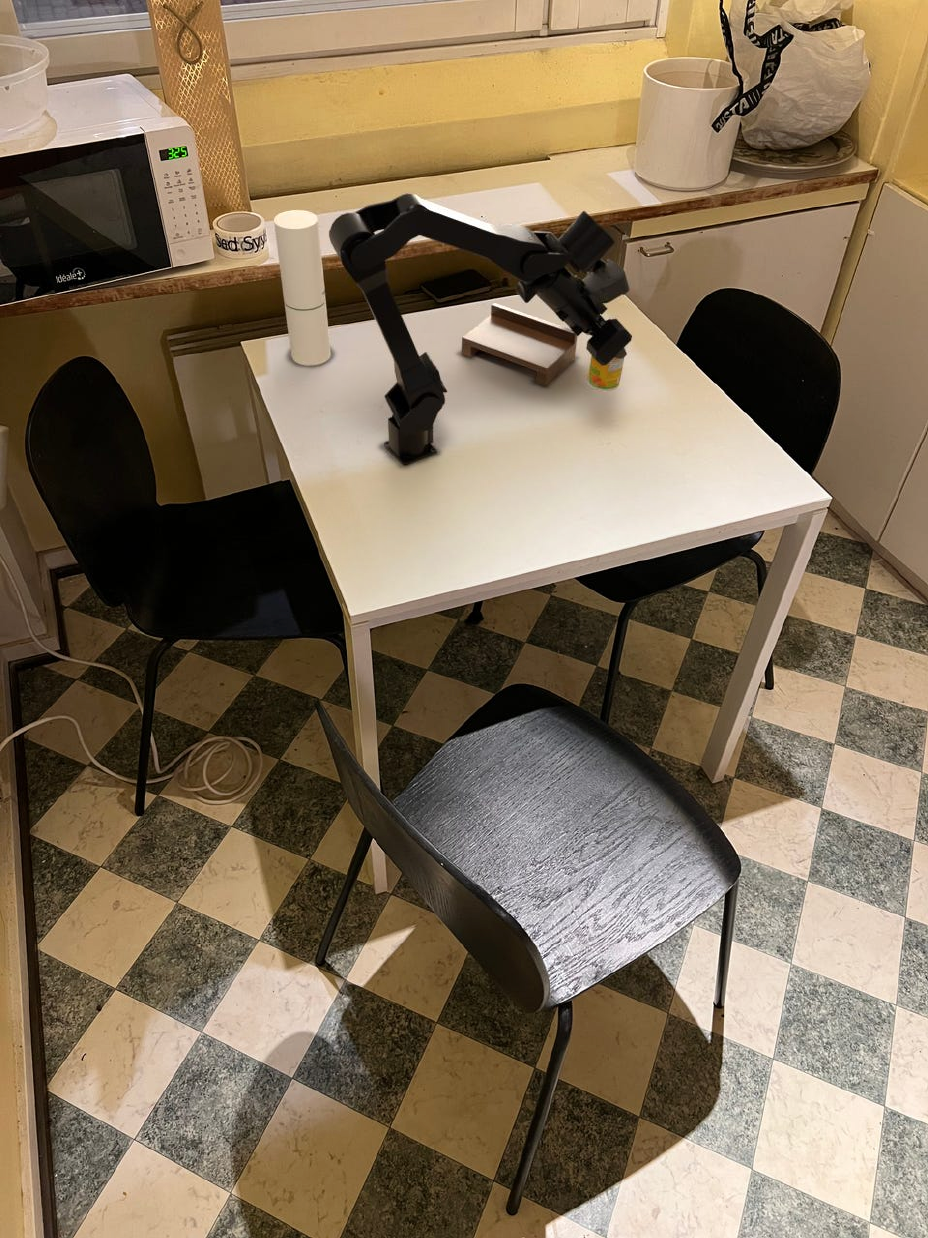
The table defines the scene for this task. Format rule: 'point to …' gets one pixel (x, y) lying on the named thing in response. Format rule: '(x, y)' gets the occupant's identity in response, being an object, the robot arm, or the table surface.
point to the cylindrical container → (303, 286)
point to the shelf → (523, 341)
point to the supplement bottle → (605, 374)
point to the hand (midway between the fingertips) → (616, 347)
